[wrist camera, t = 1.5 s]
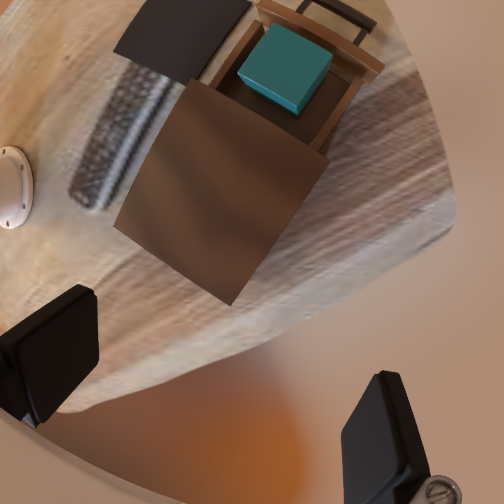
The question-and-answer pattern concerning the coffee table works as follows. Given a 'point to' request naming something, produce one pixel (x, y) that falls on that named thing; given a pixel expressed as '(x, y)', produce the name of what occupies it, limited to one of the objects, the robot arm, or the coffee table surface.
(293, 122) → the drawer
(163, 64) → the mat
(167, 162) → the cabinet
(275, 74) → the box
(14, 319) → the coffee table surface
